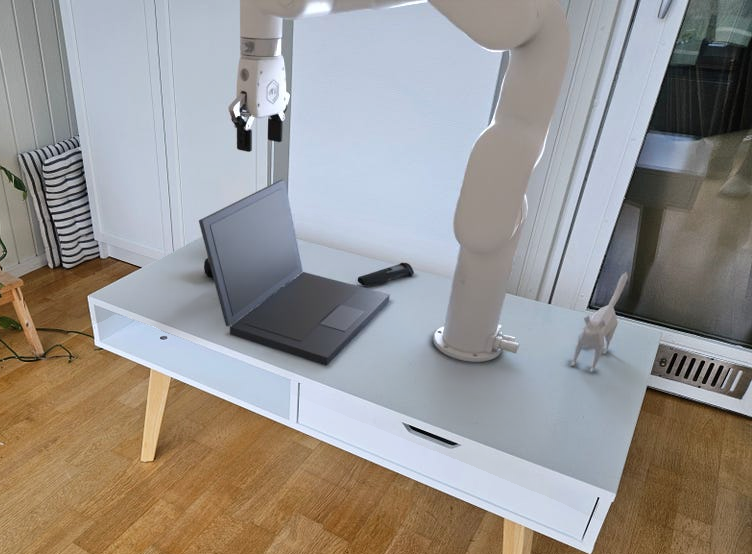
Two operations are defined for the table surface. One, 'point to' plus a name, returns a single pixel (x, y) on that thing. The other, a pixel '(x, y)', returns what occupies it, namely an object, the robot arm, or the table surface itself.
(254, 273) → the laptop screen
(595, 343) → the cat figurine
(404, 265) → the electric trimmer
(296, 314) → the dark grey flat slab
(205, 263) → the tape measure
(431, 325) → the table surface
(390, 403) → the table surface
